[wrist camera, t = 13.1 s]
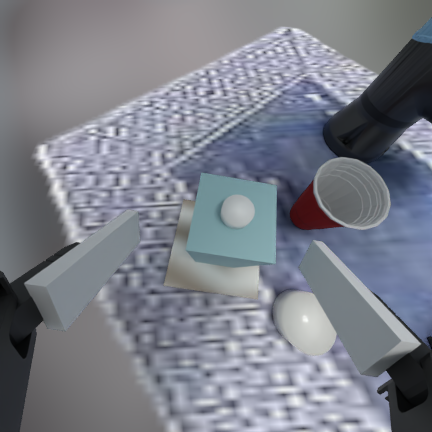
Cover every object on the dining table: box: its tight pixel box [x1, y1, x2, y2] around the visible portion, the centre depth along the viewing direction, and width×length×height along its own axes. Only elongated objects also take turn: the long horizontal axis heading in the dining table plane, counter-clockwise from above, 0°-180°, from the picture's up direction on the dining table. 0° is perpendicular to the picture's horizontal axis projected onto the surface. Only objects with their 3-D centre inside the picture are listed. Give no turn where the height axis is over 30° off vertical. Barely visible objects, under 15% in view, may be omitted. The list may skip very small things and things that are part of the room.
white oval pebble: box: [273, 289, 337, 356], centre depth 25 cm, size 8×8×4 cm
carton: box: [186, 173, 277, 268], centre depth 18 cm, size 6×6×16 cm
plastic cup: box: [290, 157, 391, 230], centre depth 27 cm, size 11×11×12 cm
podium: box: [164, 199, 259, 299], centre depth 27 cm, size 14×14×4 cm
